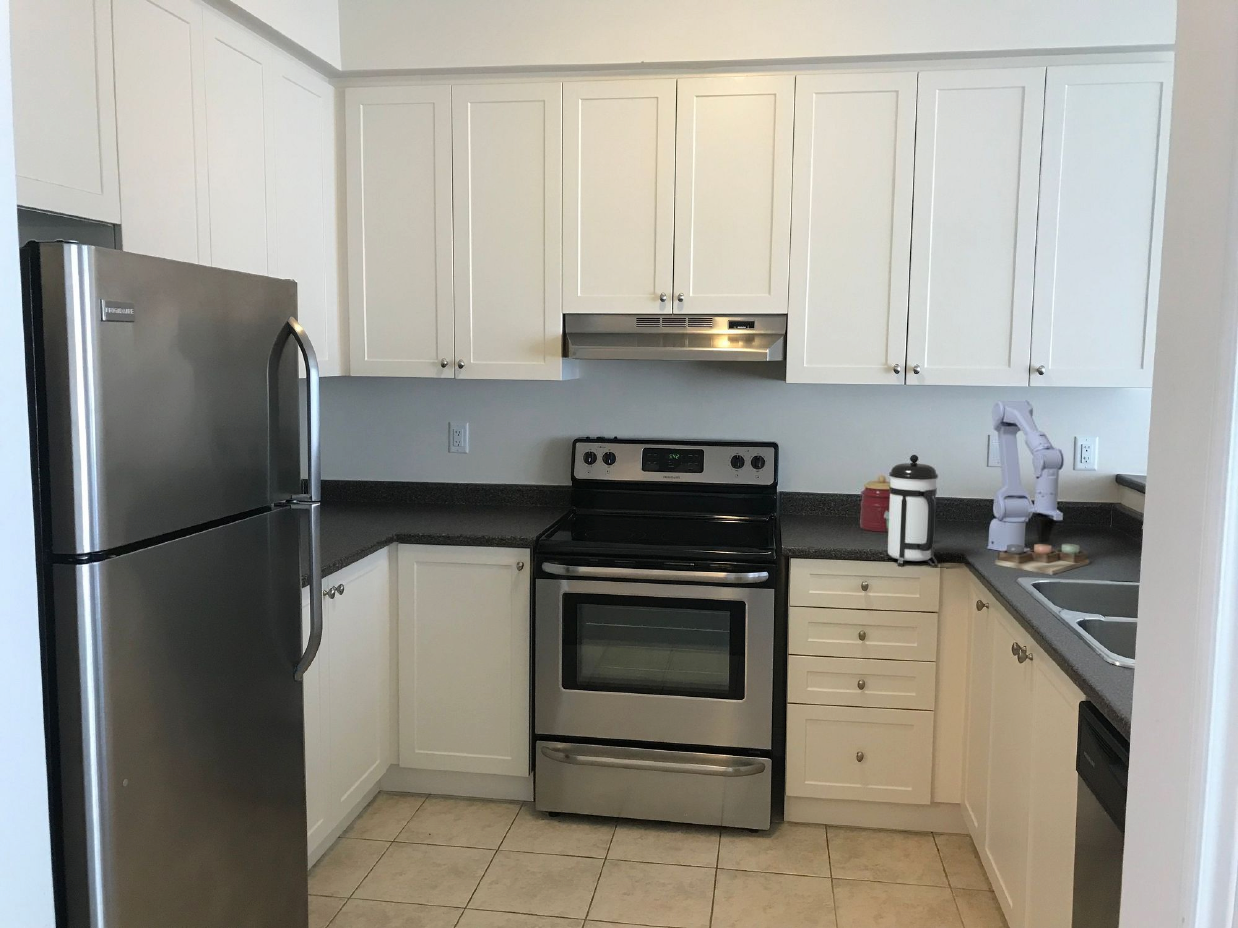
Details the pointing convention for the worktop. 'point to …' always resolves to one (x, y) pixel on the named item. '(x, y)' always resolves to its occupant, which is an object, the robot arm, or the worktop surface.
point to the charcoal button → (1015, 549)
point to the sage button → (1070, 548)
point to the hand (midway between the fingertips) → (1043, 541)
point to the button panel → (1043, 561)
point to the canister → (875, 505)
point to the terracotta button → (1042, 549)
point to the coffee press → (912, 512)
